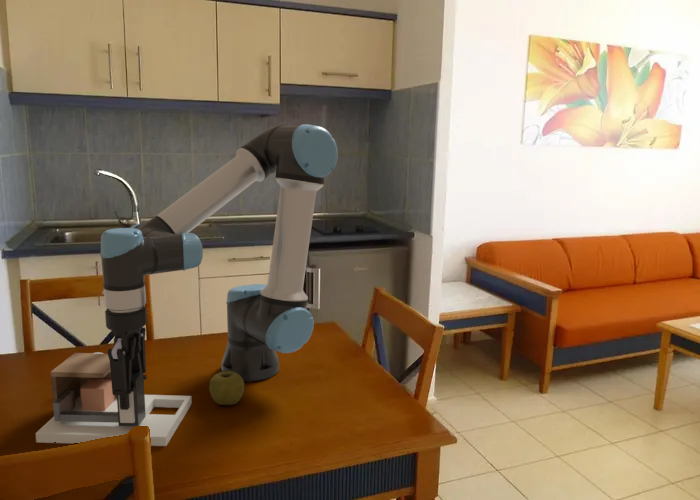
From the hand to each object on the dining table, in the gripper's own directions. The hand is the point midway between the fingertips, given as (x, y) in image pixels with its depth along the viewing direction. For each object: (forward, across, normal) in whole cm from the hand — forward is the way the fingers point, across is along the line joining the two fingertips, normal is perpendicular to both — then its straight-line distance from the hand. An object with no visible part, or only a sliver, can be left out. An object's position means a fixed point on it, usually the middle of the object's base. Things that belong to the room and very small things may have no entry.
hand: (132, 415), depth 114 cm
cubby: (+2, -8, -12) cm, 15 cm away
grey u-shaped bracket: (+1, -2, -7) cm, 7 cm away
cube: (+2, -9, -11) cm, 14 cm away
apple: (+5, -15, +16) cm, 23 cm away
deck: (+4, -5, -5) cm, 8 cm away
